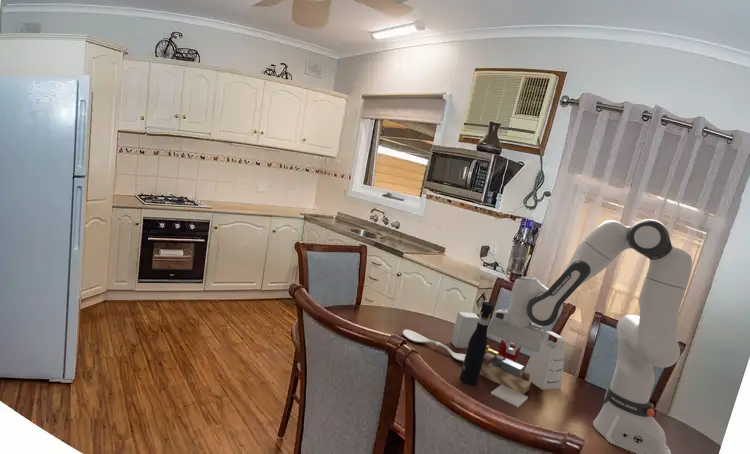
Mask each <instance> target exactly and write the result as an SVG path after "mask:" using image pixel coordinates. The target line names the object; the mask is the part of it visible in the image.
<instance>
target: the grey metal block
mask: <svg viewBox="0 0 750 454" xmlns="http://www.w3.org/2000/svg"><path fill="white" fill-rule="evenodd" d="M500 369H501V370H503V371H505V372H507V373H509V374H512V375H514V376H516V377H519V376H520V375H522V373H523V371H524V370H525V365H522V364H520V363H518V362H517V363H516V362H513V361H511V360H509V359H507V358H506V359H505V360H503V361H502V363H501V367H500Z"/></svg>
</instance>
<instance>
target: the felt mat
mask: <svg viewBox="0 0 750 454" xmlns="http://www.w3.org/2000/svg"><path fill="white" fill-rule="evenodd" d="M490 395H492V396H494V397H496V398H498V399H499V400H502V401H504V402H506V403H508V404H510V405H512V406H513V407H516V408H520V407H521V406H522V405H523V404H524V403H525V402H526V401H527V400H528V399H529V398H528V395H525V394H524V395H523V394H521V393H519V392H517V391H515V390H513V389H510V388H508V387H506V386H504V385H502V384H501V385H500V384H499V385H498V386H497V387H496V388H494V389H493V390H492V391H491V392H490Z"/></svg>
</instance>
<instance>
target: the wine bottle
mask: <svg viewBox="0 0 750 454" xmlns="http://www.w3.org/2000/svg"><path fill="white" fill-rule="evenodd" d="M493 308H494V304H493V303H491V302H490V301H489V302H488V301H483V302H482V304H481V308H480V312H481V315H480V317H479V318H480V319H479V322H478V323H477V327H476V330H475V331H474V333H473V334H472V336H471V338H470V340H469V344H468V348H467V349H466V353H465V354H466V356H465V360H464V362H463V364H462V368H461V373H460V376H459V379H460V381H462V383H465V384H467V385H470V386H476V385H478V381H479V377H480V370H481V367H482V363H483V359H484V355H485V354H486V347H487V345H488V337H487V335H488V334H487V333H488V331H487V329H488V325H489V316H490V315H491V314H492V313H493V310H494V309H493Z"/></svg>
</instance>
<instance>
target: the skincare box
mask: <svg viewBox="0 0 750 454" xmlns="http://www.w3.org/2000/svg"><path fill="white" fill-rule="evenodd" d="M479 319H480V317H479V316H478V315H477V314H476V313H475V312H465V311H464V312H463V311H457V315H456V319H455V323H454V328H453V333H452V337H451V342H450V343H452V345H453V346H454V347H455V348H456V349H466V350H467V348H468V344H469V340H470V338H471V336H472V334H473V333H474V331H475V330H476V327H477V323H478V322H479Z"/></svg>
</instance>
